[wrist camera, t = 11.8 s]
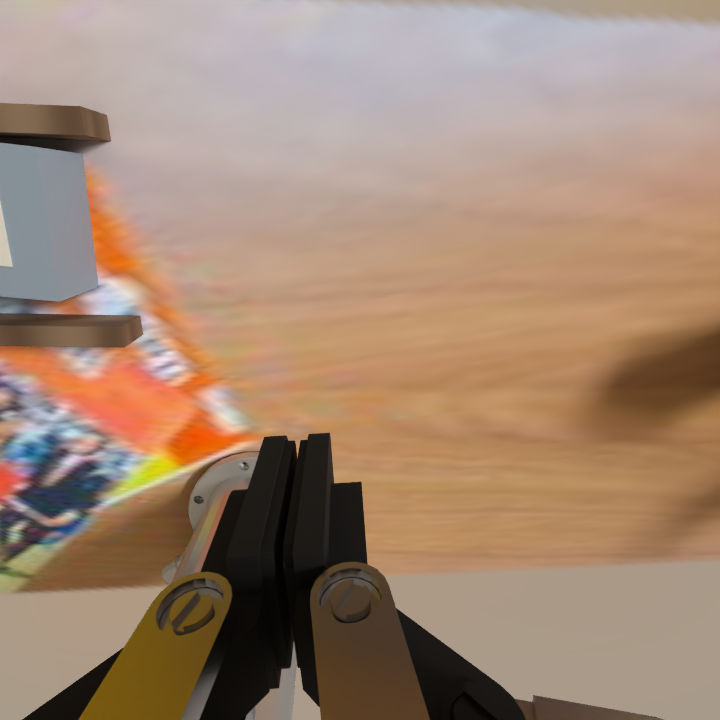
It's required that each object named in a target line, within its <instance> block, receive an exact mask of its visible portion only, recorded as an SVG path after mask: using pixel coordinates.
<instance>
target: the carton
mask: <svg viewBox="0 0 720 720" xmlns="http://www.w3.org/2000/svg"><path fill="white" fill-rule="evenodd" d="M97 287H99V285H98V277H97V268H96V260H95V252H94V243H93V235H92V226H91V218H90V210H89V201H88V193H87V185H86V176H85V168H84V160H83V154H80V153H73V152H67V151H60V150H54V149H47V148H40V147H33V146H24V145H15V144H7V143H0V297H12V298H23V299H34V300H46V301H57V302H60V301H63V300H66V299H68V298H71V297H73V296H76V295H78V294H81V293H84V292H86V291H89V290H91V289H94V288H97Z"/></svg>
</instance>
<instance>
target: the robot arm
mask: <svg viewBox="0 0 720 720" xmlns="http://www.w3.org/2000/svg"><path fill="white" fill-rule="evenodd" d="M188 516H189V520H190V524H191V527H192V529H193V531H194V532H193V535H192V537H191V539H190V542H189V544H188V545H187V546H186V548H185V550H184V553H183V554H182V555H181V554H180V555H179V556H177V557H176V558H174V559H173V560H172V561H170V562H169V563H167V564H166V565H165V566H164V567H163V569H162V577H163V580H164V581H165V582H166V583H167V584H170V585H169V586H167V587H166V588H165V589H164V590H163V591H161V593H160V594H159V595H158V596H157V597H156V599H155V600H154V601H153V602H152V604H151V606H150V607H149V609H148V610H147V612H146V613H145V615H144V617H143V618H142V620H141V621H140V623H139V624H138V626H137V628H136V629H135V631H134V632H133V634H132V636H131V637H130V639H129V641H128V642H127V643H126V645H125V647H124V648H122V649H121V650H120V651H118V652H117V653H115V654H114V655H113V656H111V657H110V658H108V659H107V660H106V661H104V662H103V663H101V664H100V665H98V666H97V667H96V668H94V669H93V670H91V671H90V672H89V673H87V674H86V675H84V676H83V677H82V678H80V679H79V680H77V681H76V682H75V683H73V684H72V685H71V686H69V687H68V688H66V689H65V690H63V691H62V692H61V693H59V694H58V695H56V696H55V697H54V698H52V699H51V700H49V701H48V702H46V703H45V704H44V705H42V706H41V707H39V708H38V709H37V710H35V711H34V712H32V713H31V714H30V715H28V716H27V717H25V718H24V719H23V720H292V712H293V702H294V688H295V678H296V667H297V666H298V668H300V670H301V677H302V684H303V690H304V691H305V692H306V693H307V694H308V695H309V696H310V697H311V699H312V700H313V701H314V702H315V703H316V704H317V705H318V706H319V707H320V712H321V720H663V719H660V718H657V717H652V716H647V715H642V714H636V713H630V712H624V711H619V710H614V709H608V708H602V707H596V706H591V705H585V704H580V703H574V702H569V701H563V700H557V699H551V698H546V697H541V696H535V695H533V701H532V702H529V701H524V700H518V699H514V698H513V697H512V696H511V695H510V694H509V693H508V692H507V691H506V690H505V689H504V688H503V687H501V685H499V684H498V683H497V682H495V681H494V680H492V679H491V678H490V677H488V676H487V675H486V674H484V673H483V672H482V671H480V670H479V669H478V668H476V667H475V666H474V665H472V664H471V663H469V662H468V661H467V660H465V659H464V658H463V657H461V656H460V655H459V654H457V653H456V652H454V651H453V650H452V649H451V648H449V647H448V646H446V645H445V644H444V643H442V642H441V641H440V640H438V639H437V638H435V637H434V636H433V635H431V634H430V633H429V632H428V631H426V630H425V629H423V628H422V627H421V626H420V625H418V624H417V623H415V622H414V621H413V620H411V619H410V618H409V617H407V616H406V615H404V614H403V613H402V612H401V611H399V610H398V609H397V608H396V607H395V603H394V600H393V597H392V594H391V591H390V587H389V585H388V583H387V581H386V579H385V577H384V576H383V575H382V574H381V573H380V572H379V571H378V570H377V569H376V568H374V567H372V566H370V565H368V564H367V552H366V539H365V525H364V512H363V498H362V485H361V482H351V483H335V484H334V477H333V464H332V451H331V439H330V433H320V434H309V435H308V440H301V441H300V447H299V453H298V459H297V452H296V444H295V441H288V439H287V436H271V437H264V440H263V443H262V446H261V449H260V452H246V453H241V454H236V455H232V456H229V457H227V458H224V459H222V460H220V461H218V462H217V463H215V464H213V465H212V466H210V467H209V468H208V469H207V470H206V471H205V472H204V473H203V474H202V475H201V477H200V478H199V480H198V481H197V483H196V484H195V487H194V489H193V491H192V493H191V496H190V500H189V504H188Z"/></svg>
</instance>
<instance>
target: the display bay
mask: <svg viewBox="0 0 720 720" xmlns="http://www.w3.org/2000/svg"><path fill="white" fill-rule="evenodd" d="M0 137H15V138H43V139H71V140H99V141H111V138H110V132H109V126H108V120H107V115H105V114H102V113H99V112H96V111H93V110H90V109H87V108H84V107H81V106H58V105H32V104H7V103H0ZM142 335H143V331H142V325H141V319H140V316H119V315H61V314H3V313H0V346H55V347H126V346H127V345H129V344H130V343H132V342H133V341H134V340H136V339H137V338H139V337H140V336H142Z"/></svg>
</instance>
